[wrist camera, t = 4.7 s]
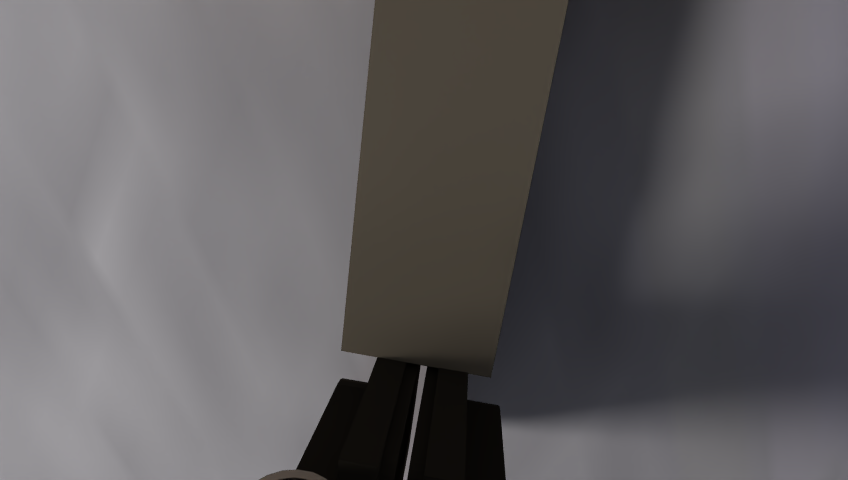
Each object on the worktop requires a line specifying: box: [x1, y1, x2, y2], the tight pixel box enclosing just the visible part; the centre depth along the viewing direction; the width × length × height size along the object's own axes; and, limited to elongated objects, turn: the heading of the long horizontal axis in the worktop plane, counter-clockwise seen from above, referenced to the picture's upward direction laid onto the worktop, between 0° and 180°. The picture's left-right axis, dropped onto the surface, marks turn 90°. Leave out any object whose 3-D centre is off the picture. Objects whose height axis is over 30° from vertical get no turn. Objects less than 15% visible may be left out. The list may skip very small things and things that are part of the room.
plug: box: [341, 0, 569, 378], centre depth 7 cm, size 12×4×4 cm, turn 172°
